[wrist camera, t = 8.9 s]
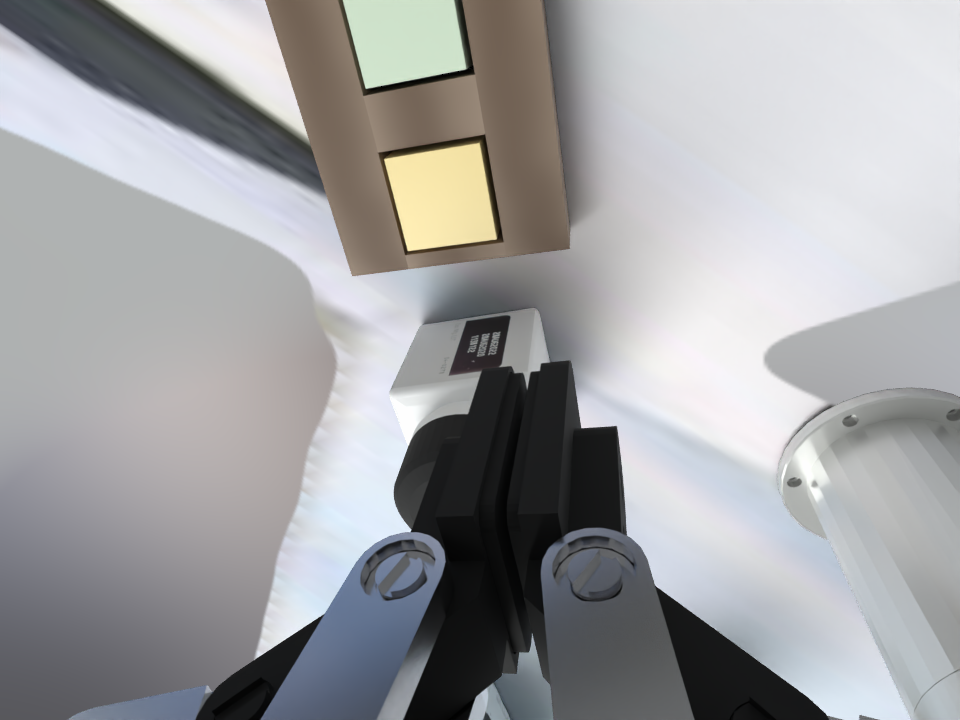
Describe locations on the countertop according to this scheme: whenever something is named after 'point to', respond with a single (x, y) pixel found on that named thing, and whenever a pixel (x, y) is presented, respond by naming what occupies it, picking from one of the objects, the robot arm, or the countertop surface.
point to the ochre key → (444, 193)
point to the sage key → (408, 39)
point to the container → (453, 386)
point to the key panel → (430, 129)
